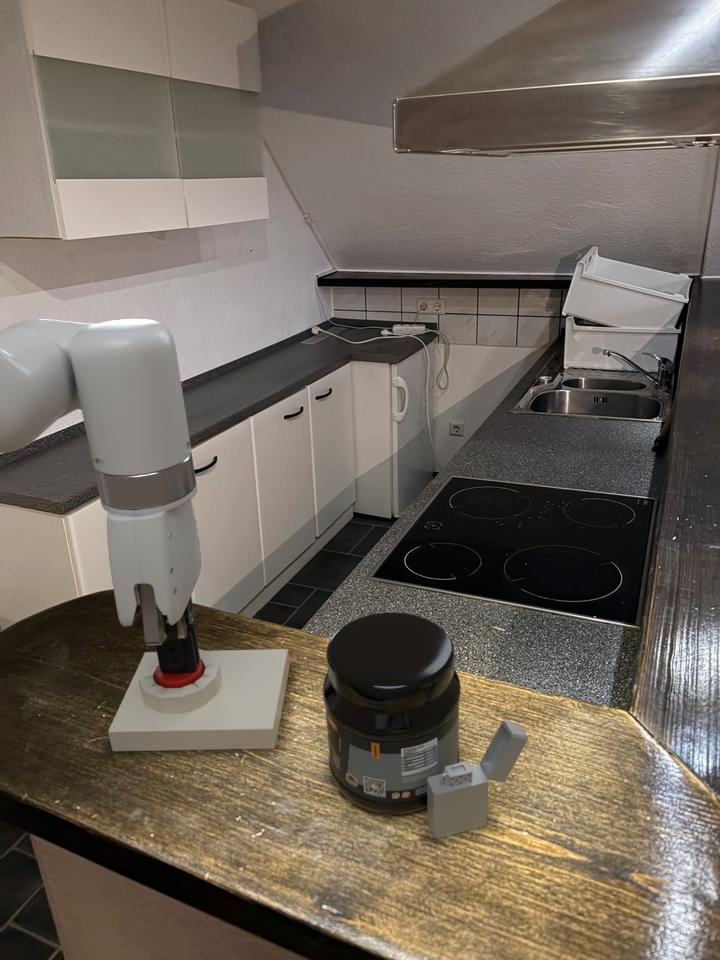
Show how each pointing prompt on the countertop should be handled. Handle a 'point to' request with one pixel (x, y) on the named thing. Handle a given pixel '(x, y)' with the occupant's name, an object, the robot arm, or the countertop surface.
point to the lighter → (472, 784)
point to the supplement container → (390, 710)
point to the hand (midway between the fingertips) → (180, 666)
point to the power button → (178, 678)
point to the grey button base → (205, 704)
